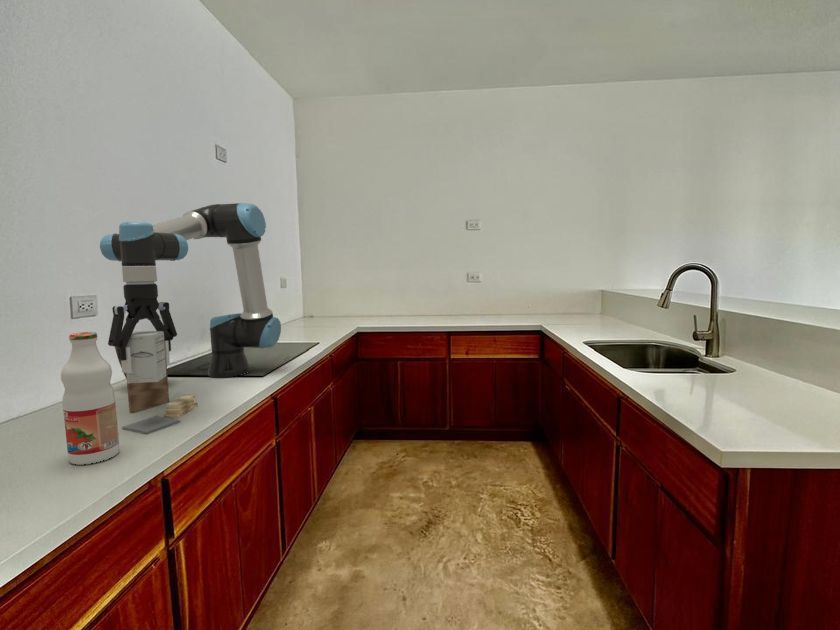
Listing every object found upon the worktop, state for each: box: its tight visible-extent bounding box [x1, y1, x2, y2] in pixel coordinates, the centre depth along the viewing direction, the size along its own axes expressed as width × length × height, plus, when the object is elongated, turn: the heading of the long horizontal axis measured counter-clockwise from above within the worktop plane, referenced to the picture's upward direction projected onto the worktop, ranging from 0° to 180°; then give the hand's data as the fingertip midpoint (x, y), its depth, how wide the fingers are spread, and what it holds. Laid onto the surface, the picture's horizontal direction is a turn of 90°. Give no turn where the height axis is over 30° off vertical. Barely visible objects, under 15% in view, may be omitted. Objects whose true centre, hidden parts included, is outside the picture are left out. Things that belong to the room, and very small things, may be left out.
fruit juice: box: [60, 331, 120, 466], centre depth 101 cm, size 9×9×28 cm
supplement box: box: [126, 330, 166, 385], centre depth 120 cm, size 7×7×13 cm
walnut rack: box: [125, 365, 170, 414], centre depth 138 cm, size 12×1×12 cm, turn 156°
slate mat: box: [121, 415, 181, 435], centre depth 122 cm, size 10×10×1 cm
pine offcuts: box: [163, 394, 199, 420], centre depth 133 cm, size 11×4×4 cm, turn 179°
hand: (146, 368), depth 121 cm, fingers closed on supplement box, 10 cm apart
